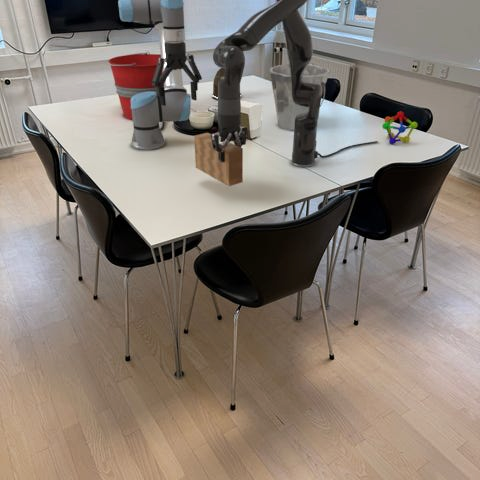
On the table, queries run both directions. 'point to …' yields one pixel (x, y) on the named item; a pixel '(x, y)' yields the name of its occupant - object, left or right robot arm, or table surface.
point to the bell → (218, 75)
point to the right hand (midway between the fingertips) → (229, 159)
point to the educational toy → (398, 128)
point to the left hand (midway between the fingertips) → (178, 102)
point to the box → (212, 166)
